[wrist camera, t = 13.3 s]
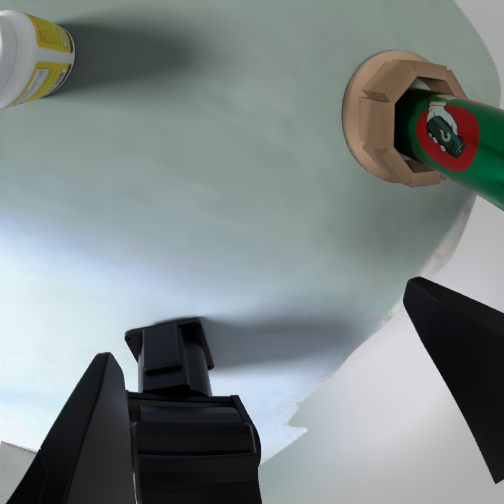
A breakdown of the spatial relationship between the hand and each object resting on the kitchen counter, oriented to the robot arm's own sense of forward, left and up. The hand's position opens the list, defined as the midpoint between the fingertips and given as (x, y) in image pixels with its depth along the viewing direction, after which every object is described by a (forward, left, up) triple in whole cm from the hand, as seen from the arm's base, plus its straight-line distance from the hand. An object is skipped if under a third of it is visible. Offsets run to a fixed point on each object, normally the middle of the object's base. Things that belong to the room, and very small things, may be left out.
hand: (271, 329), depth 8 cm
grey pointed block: (-35, +40, -13) cm, 55 cm away
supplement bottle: (+10, +9, -13) cm, 19 cm away
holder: (+3, -14, -13) cm, 19 cm away
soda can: (+3, -14, -12) cm, 19 cm away
